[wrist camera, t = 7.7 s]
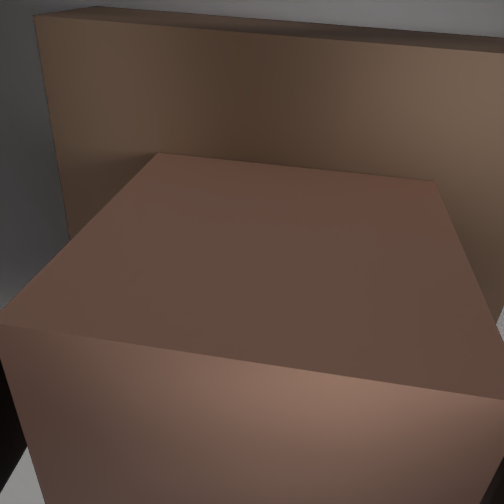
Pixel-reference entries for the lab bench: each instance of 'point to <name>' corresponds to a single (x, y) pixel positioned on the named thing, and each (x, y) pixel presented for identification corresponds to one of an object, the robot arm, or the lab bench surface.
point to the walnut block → (279, 107)
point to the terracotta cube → (259, 345)
